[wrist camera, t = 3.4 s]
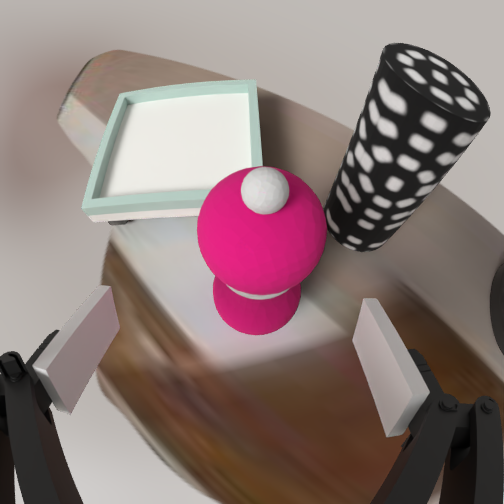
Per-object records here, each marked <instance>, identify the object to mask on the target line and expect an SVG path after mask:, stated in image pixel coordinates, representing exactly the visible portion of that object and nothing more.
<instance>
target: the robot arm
mask: <svg viewBox="0 0 504 504" xmlns="http://www.w3.org/2000/svg"><path fill="white" fill-rule="evenodd" d="M490 309H491V320H492V326H493V331H494V335H495V338H496V341H497V343H498V346H499V348H500V350H501V351H502V353H503V355H504V264H503V265H502V266H501V267H500V268H499V269H498V271H497V273H496V275H495V277H494V280H493V284H492V289H491V299H490ZM119 329H120V326H119V322H118V318H117V313H116V309H115V304H114V300H113V295H112V290H111V286H102V285H99V286H98V287H97V288H96V289H95V290H94V291H93V292H92V293H91V295H90V296H89V297H88V298H87V299H86V300H85V301H84V302H83V304H82V305H81V306H80V307H79V308H78V309H77V311H76V312H75V313H74V314H73V315H72V316H71V318H70V319H69V320H68V321H67V322H66V324H65V325H64V326H63V327H62V329H61V330H55V331H54V332H52V333H51V334H49V335H48V336H47V338H46V339H45V340H44V341H43V343H42V344H41V345H40V346H39V349H37V350H36V351H35V352H34V354H33V355H32V356H31V357H30V359H29V360H28V361H27V363H26V364H24V362H23V360H22V358H21V356H20V354H19V353H17V352H14V351H11V352H7V353H4V354H3V355H2V356H0V373H1V374H0V504H15V485H14V465H15V469H16V474H17V478H18V483H19V486H20V490H21V493H22V497H23V501H24V504H83V502H82V499H81V497H80V495H79V492H78V490H77V488H76V485H75V483H74V480H73V478H72V475H71V473H70V470H69V467H68V464H67V462H66V459H65V456H64V453H63V450H62V447H61V444H60V441H59V437H58V434H57V430H56V427H55V423H54V419H53V415H52V412H51V410H50V408H49V406H50V404H51V403H52V402H53V404H54V406H55V407H56V408H57V410H58V411H61V412H64V413H67V414H71V413H72V411H73V409H74V407H75V405H76V403H77V401H78V399H79V398H80V396H81V394H82V392H83V391H84V389H85V387H86V385H87V383H88V382H89V379H90V378H91V376H92V374H93V373H94V371H95V369H96V367H97V366H98V364H99V362H100V361H101V359H102V357H103V355H104V354H105V352H106V350H107V349H108V347H109V345H110V344H111V342H112V340H113V339H114V337H115V335H116V334H117V332H118V331H119ZM352 341H353V343H354V346H355V349H356V351H357V354H358V356H359V359H360V362H361V365H362V367H363V370H364V373H365V375H366V378H367V381H368V384H369V387H370V389H371V392H372V395H373V398H374V401H375V404H376V407H377V410H378V413H379V415H380V418H381V421H382V425H383V428H384V431H385V434H386V437H392V436H397V435H402V434H403V433H404V432H405V430H406V429H407V427H409V430H410V432H411V434H410V435H409V436H408V438H407V439H406V440H405V442H404V443H403V444H402V446H401V447H403V448H402V450H401V452H400V454H399V456H398V458H397V460H396V462H395V463H394V465H393V467H392V469H391V471H390V472H389V474H388V476H387V478H386V479H385V481H384V483H383V484H382V486H381V488H380V489H379V491H378V492H377V494H376V496H375V497H374V499H373V500H372V502H371V503H370V504H427V502H428V500H429V498H430V496H431V494H432V491H433V489H434V487H435V484H436V482H437V480H438V477H439V475H440V472H441V470H442V467H443V464H444V462H445V466H444V474H443V482H442V489H441V495H440V501H439V504H503V492H504V458H503V440H502V429H501V420H500V412H499V407H498V404H497V403H496V401H495V400H494V399H492V398H491V397H488V396H481V397H479V398H478V399H477V400H476V402H475V403H474V404H460V403H459V401H458V400H457V399H456V398H455V397H454V396H452V395H450V394H445V393H444V392H443V391H442V389H441V387H440V385H439V383H438V382H437V380H436V378H435V376H434V374H433V373H432V371H431V369H430V367H429V366H428V365H427V362H426V361H425V359H424V357H423V356H422V355H421V354H420V353H419V352H418V351H417V350H415V349H408V350H407V349H406V347H405V345H404V343H403V342H402V340H401V338H400V336H399V335H398V333H397V331H396V329H395V328H394V326H393V324H392V323H391V321H390V319H389V318H388V316H387V314H386V313H385V311H384V309H383V308H382V306H381V305H380V303H379V301H378V300H377V298H363V302H362V306H361V310H360V314H359V318H358V322H357V325H356V329H355V333H354V336H353V340H352Z"/></svg>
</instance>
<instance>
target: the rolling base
mask: <svg viewBox="0 0 504 504" xmlns="http://www.w3.org/2000/svg"><path fill="white" fill-rule="evenodd" d="M258 166H263V164H262V150H261V137H260V124H259V111H258V99H257V87H256V80H227V81H210V82H198V83H187V84H178V85H170V86H162V87H156V88H149V89H143V90H137V91H131V92H126V93H121V94H120V95H119V97H118V99H117V102H116V104H115V107H114V109H113V112H112V114H111V117H110V119H109V122H108V124H107V127H106V130H105V132H104V135H103V138H102V141H101V143H100V146H99V149H98V152H97V155H96V158H95V162H94V165H93V168H92V171H91V175H90V178H89V181H88V185H87V189H86V192H85V196H84V200H83V204H82V208H81V209H82V210H83V211H84V212H85V213H86V214H87V215H88V217H89V218H90V219H91V220H92V221H93V222H104V221H108V223H109V224H110V225H122V224H126V223H127V221H128V220H132V219H147V218H164V217H183V216H199V213H200V209H201V207H202V204H203V202H204V200H205V199H206V197H207V195H208V193H209V192H210V190H211V189H212V188H213V187H214V186H215V185H216V184H217V183H218V182H220V181H221V180H222V179H224V178H225V177H227V176H228V175H230V174H232V173H234V172H236V171H239V170H242V169H245V168H250V167H258Z"/></svg>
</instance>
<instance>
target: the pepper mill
mask: <svg viewBox="0 0 504 504" xmlns="http://www.w3.org/2000/svg"><path fill="white" fill-rule="evenodd" d="M197 235H198V243H199V247H200V251H201V254H202V256H203V258H204V260H205V262H206V264H207V266H208V267H209V268H210V270H211V271H212V273H213V274H214V275H215V279H214V283H213V296H214V303H215V306H216V309H217V311H218V313H219V315H220V316H221V317H222V319H223V320H224V321H225V322H226V323H227V324H228V325H229V326H231V327H232V328H234V329H235V330H237V331H239V332H242V333H245V334H250V335H264V334H268V333H272V332H274V331H276V330H278V329H280V328H281V327H283V326H284V325H286V323H287V322H288V321H289V320H290V319H291V318H292V317H293V315H294V314H295V312H296V309H297V307H298V304H299V301H300V297H301V285H300V282H301V281H303V280H304V279H305V278H306V277H307V276H308V275H309V274H310V273H311V272H312V270H313V269H314V268H315V266H316V265H317V264H318V262H319V260H320V258H321V255H322V253H323V250H324V246H325V242H326V235H327V225H326V218H325V214H324V211H323V208H322V205H321V203H320V201H319V199H318V198H317V196H316V194H315V193H314V192H313V191H312V189H311V188H310V187H309V186H308V185H307V184H306V183H305V182H304V181H302V180H301V179H300V178H299V177H297V176H295V175H294V174H292V173H290V172H288V171H285V170H282V169H278V168H275V167H266V166H258V167H250V168H245V169H242V170H239V171H236V172H234V173H232V174H230V175H228V176H227V177H225V178H224V179H222V180H221V181H220V182H218V183H217V184H216V185H215V186H214V187H213V188H212V189H211V190H210V192H209V193H208V195H207V197H206V199H205V200H204V202H203V204H202V207H201V209H200V213H199V216H198V223H197Z"/></svg>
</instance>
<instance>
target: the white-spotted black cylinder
mask: <svg viewBox="0 0 504 504" xmlns="http://www.w3.org/2000/svg"><path fill="white" fill-rule="evenodd" d="M489 118H490V107H489V105H488V102H487V100H486V99H485V97H484V95H483V94H482V92H481V91H480V90H479V88H478V87H477V86H476V85H475V84H474V83H473V82H472V80H471V79H470V78H468V77H467V76H466V75H465V74H464V73H463V72H462V71H460V70H459V69H458V68H457V67H455V66H454V65H453V64H451V63H450V62H448V61H447V60H445V59H443V58H442V57H440V56H438V55H436V54H434V53H432V52H430V51H428V50H425V49H423V48H420V47H417V46H413V45H410V44H404V43H392V44H389V45H387V46H385V48H384V49H383V51H382V54H381V57H380V60H379V63H378V66H377V69H376V72H375V75H374V78H373V81H372V84H371V87H370V89H369V92H368V95H367V98H366V100H365V103H364V106H363V109H362V111H361V114H360V117H359V119H358V122H357V125H356V128H355V130H354V133H353V135H352V138H351V141H350V143H349V146H348V148H347V151H346V153H345V156H344V159H343V161H342V164H341V166H340V169H339V171H338V174H337V176H336V179H335V181H334V183H333V186H332V188H331V191H330V193H329V196H328V198H327V200H326V203H325V206H324V214H325V218H326V225H327V228H328V230H329V232H330V233H331V235H332V236H333V237H334V238H335V239H336V240H337V241H338V242H339V243H340V244H342V245H343V246H345V247H347V248H349V249H352V250H355V251H360V252H368V251H373V250H376V249H378V248H379V247H381V246H382V245H383V244H384V243H385V242H386V241H387V240H388V239H389V238H390V237H391V236H392V235H393V234H394V233H395V232H396V231H397V230H398V229H399V228H400V226H401V225H402V224H403V223H404V222H405V221H406V220H407V219H408V218H409V217H410V216H411V214H412V213H413V212H414V211H415V210H416V209H417V208H418V207H419V205H420V204H421V203H422V202H423V201H424V200H425V199H426V198H427V196H428V195H429V194H430V193H431V192H432V191H433V189H434V188H435V187H436V186H437V185H438V184H439V182H440V181H441V180H442V179H443V177H444V176H445V175H446V174H447V173H448V171H449V170H450V169H451V168H452V167H453V165H454V164H455V163H456V162H457V160H458V159H459V158H460V157H461V155H462V154H463V153H464V151H465V150H466V149H467V147H468V146H469V145H470V144H471V142H472V141H473V140H474V138H475V137H476V136H477V134H478V133H479V132H480V130H481V129H482V128H483V126H484V125H485V123H486V122H487V120H488V119H489Z"/></svg>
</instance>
